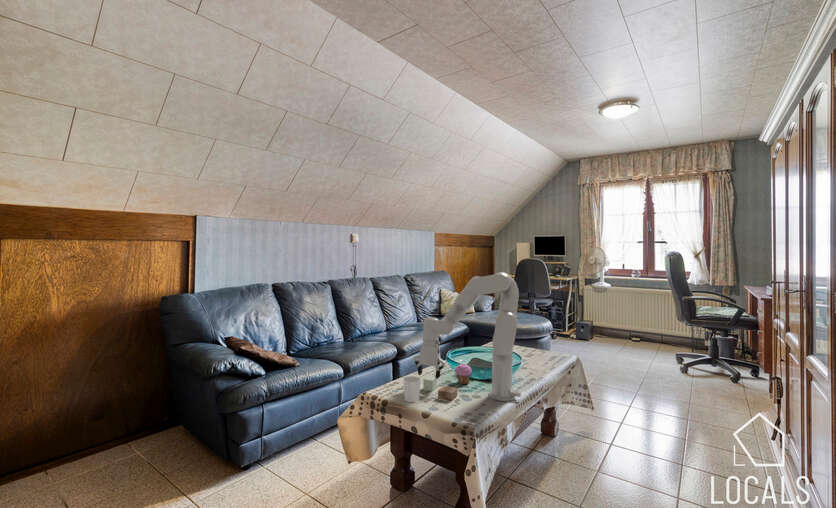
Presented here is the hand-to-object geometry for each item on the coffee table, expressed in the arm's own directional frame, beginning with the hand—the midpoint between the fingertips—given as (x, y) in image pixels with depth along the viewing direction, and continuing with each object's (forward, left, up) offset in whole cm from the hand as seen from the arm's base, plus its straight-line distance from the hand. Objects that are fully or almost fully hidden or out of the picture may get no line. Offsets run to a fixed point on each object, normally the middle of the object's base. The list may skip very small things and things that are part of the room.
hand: (428, 376), depth 197 cm
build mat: (-13, +6, -7) cm, 16 cm away
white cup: (+1, +16, -7) cm, 17 cm away
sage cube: (-1, 0, -7) cm, 7 cm away
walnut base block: (-13, +6, -7) cm, 15 cm away
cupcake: (-12, -18, -7) cm, 23 cm away
